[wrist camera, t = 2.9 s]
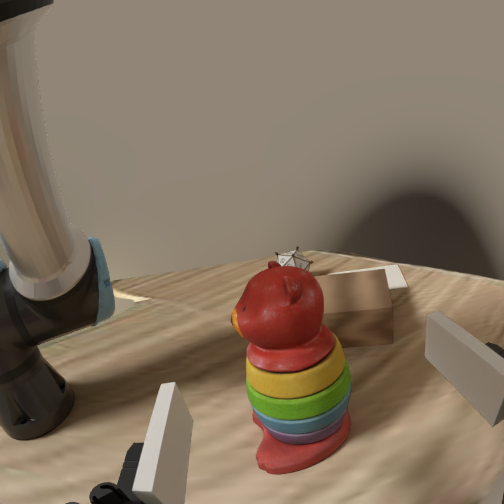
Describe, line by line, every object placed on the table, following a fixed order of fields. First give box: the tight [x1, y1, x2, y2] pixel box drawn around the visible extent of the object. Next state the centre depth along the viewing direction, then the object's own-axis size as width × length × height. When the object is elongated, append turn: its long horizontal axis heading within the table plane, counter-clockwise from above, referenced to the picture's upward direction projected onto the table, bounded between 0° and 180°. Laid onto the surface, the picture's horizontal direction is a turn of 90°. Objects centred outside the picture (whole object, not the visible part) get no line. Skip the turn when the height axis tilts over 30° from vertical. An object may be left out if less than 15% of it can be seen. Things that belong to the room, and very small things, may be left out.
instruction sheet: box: [328, 265, 408, 290], centre depth 60 cm, size 16×12×1 cm
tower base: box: [314, 269, 393, 348], centre depth 46 cm, size 14×14×6 cm
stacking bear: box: [231, 261, 351, 474], centre depth 25 cm, size 11×10×18 cm
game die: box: [275, 247, 314, 271], centre depth 65 cm, size 9×8×10 cm
